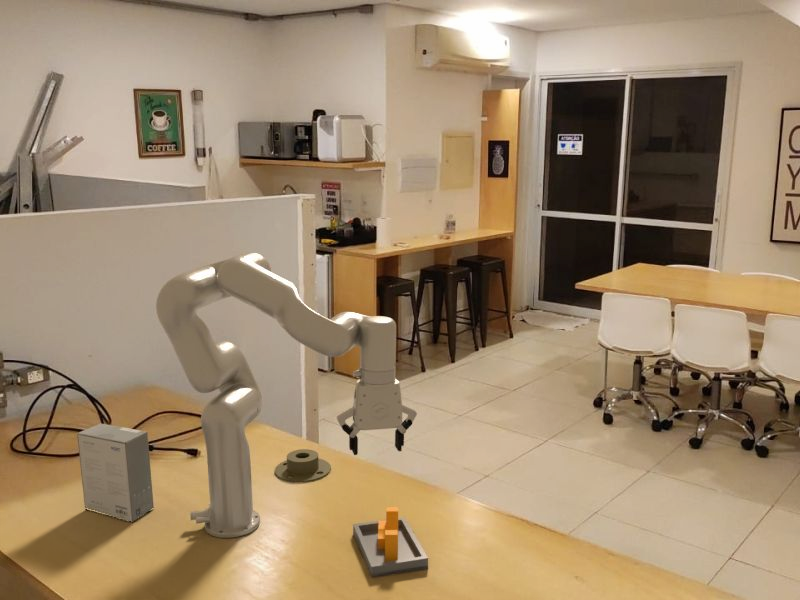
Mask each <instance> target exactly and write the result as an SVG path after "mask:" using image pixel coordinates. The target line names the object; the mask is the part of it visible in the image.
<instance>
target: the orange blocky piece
mask: <svg viewBox="0 0 800 600" xmlns="http://www.w3.org/2000/svg"><path fill="white" fill-rule="evenodd" d="M385 508H386V509H385V510H386V517H385V518H386V519H385V520H386V521H380V520H378V521H379V525H378V549H385V562H388V561H395V560H398V518H399V506H388V507H387V506H386V507H385Z"/></svg>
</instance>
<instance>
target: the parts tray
mask: <svg viewBox="0 0 800 600" xmlns="http://www.w3.org/2000/svg"><path fill="white" fill-rule="evenodd" d="M379 521H386V519H382V520H381V519H379V520H373V521H368V522H367V521H366V522H361V523H360V522H359V523H354V524H352V527H353V528H352V533H353V537H354V540H355V542H356V544H357V546H358V549H359V552H360V553H361V557H362V558H363V561H364V563H365V565H366V568H367V570H368V572H369V575H370V577H371V579H374V578H380V577H389V576H393V575H398V574H406V573H412V572H418V571H425V570H428V569H429V557H428V555H427V554H426V552H425V550H424V549H423V547H422V545H421V543H420V542H419V540H418V538H417V537H416V535H415V533H414V531H413V529H412V528H411V526H410V524H409V522H408V521H407V519H406V518H405V516H403V517H398V560H395V561H388V562H385V549H378V525H379Z"/></svg>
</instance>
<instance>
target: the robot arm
mask: <svg viewBox="0 0 800 600" xmlns="http://www.w3.org/2000/svg"><path fill="white" fill-rule="evenodd" d="M271 269H272V267H271V266H270V263H269V261H268V260H267V259H266V258H265V257H264V255H263V256H262V255H261V254H259V253H257V252H252V251H251V252H248V251H247V252H243V253H240V254H238V255H235V256H232V257H230V258H227V259H224V260H220V261H217V262H214V263H210V264H206V265H203V266H201V267H198V268H195V269H191V270H188V271H185V272H182V273H180V274H177V275H175V276H174V277H172V278H170V279H168V280H167V282H166V283H165V284H164V285H163V286H162V287H161V289H160V291H159V292H158V295H157V298H156V307H155V309H156V314H157V319H158V321H159V322H160V325H161V326H162V329H163V331H164V332H165V334H166V335H167V338H168V339H169V341H170V343H171V345H172V347H173V350H174V352H175V354H176V357H177V358H178V361H179V363H180V365H181V367H182V369H183V372H184V374H185V376H186V379H187V380H188V383H189V384H190V386H191V387H192V388H193V390H195V391H196V392H198V393H201V394H208V393H212V392H214V391H216V390H219V392H220V393H219V394H217V395H216V396H214V397H213V398H212V399H211V400H210V401H208V402H207V404H206V405H205V406H204V408H203V410H202V412H201V414H200V425H201V426H200V427H201V429H202V432H203V433H202V434H203V437H204V443H205V447H206V450H205V451H206V460H207V462H206V463H207V475H208V491H209V504H208V508H204V510H195V511H194V510H193V511H190V514H189V515H190V521H195V523H196V524H202V523H203V524H204V530H205V531H206V533H207V534H209V535H210V536H213V537H217V538H221V539H222V538H223V539H225V538H226V539H227V538H229V539H230V538H238V537H241V536H245V535H248V534H250V533H252V532H254V531H255V530H256V529H257V528H258V527H259V526H260V524H261V516H260V514H259V512H257V511H256V510H254V509H253V508H254V507H253V503H254V502H253V487H252V486H253V484H252V465H251V451H250V450H251V449H250V444H249V440H248V439H247V435H246V431H245V430H246V427H247V426H248V425H250V424H251V422H253V421H254V420H255V419H256V418H257V417H258V416H259V414H260V413H261V411H262V409H263V404H264V402H263V401H264V399H263V395H262V391H261V390H260V387H259V385H258V382H257V380H256V379H255V376H254V374H253V372H252V370H251V368H250V365H249V363H248V360H247V359H246V357H245V355H244V353H243V352H242V350H241V349H240V348H239V347H238V346H237V345H236V344H235V343H232V342H230V341H227V340H219V341H214V339H213V337H212V335H211V334H212V333H211V331H210V329H209V328H208V325H206V323H205V322H204V321H203V319H202V318H201V317H199V315H198V314H197V312H198V310H199V309H201V308H204V307H207V306H208V305H211V304H213V303H215V302H218V301H221V300H224V299H227V298H230V297H233V298H234V299H237V300H239V301H240V302H243V303H245V304H247V305H248V306H250V307H252V308H254V309H256V310H258V311H260V312H261V313H264V314H265V315H267V316H269V317H270V318H272V319H274V320H276V322H278V325H279V326H280V327H282V329H283V330H284V331H285V333H287V334H288V335H289V336H290V337H291V338H292V339H294V340H295V341H296V342H298V343H299V344H301V345H303V346H306V347H307V348H309V349H311V350H312V351H314V352H316V353H319V354H320V355H324V356H325V357H326V356H327V357H331V358H338V357H342V356H344V355H345V354H347V353H348V352H349V351H351V349H353V348H356V347H359V366H358V369H357V370H353V371H352V376H353V378H357V380H356V383H355V389H354V394H353V395H354V396H353V404H352V407H350V408H349V409H347V410H345V411H343V412H342V413H340V414H337V416H336V420H337V422H338V424H339V426H340V428H341V429H342V430H343V432H344V433H346V434H347V435H348V436H349V437H348V439H349V440H348V443H349V444H348V445H349V450H350V451H352V453H353V456H358V455H359V453H358V451H359V446H358V444H359V437H358V436H357V435H358V434H359V432H360V431H375V430H386V429H387V430H388V429H395V433H394V447H395V449H396V450H397V452H402V450H403V449H402V447H403V446H404V445H405V434H406V433H407V430H409V428H410V427H411V426H412V425H413V422H414V420H415V419H416V417H417V415H418V413H417V411H416V410H415V409H413V408H410V407H408V406H405V405H403V404H402V391H401V385H400V384H401V383H400V381H399V380H398V379H397V378H396V369H397V368H396V365H397V364H396V361H397V360H396V359H397V355H396V354H397V323H396V321H395V320H394V319H393V318H391V317H388V316H384V315H383V316H382V315H374V316H373V315H371V316H369V315H365V314H361V313H358V312H357V313H356V312H353V311H342V312H339V313H337V314H336V315H334V316H332V317H331V318H330V319H329V318H328V317H325V316H323V315H322V314H320V313H318V312H316V311H315V310H313V309H311V308H310V307H308V306H307V305H306V304H305V303H304V302H303V300H302V299H301V297H300V295H299V291H298V288H297V286H296V285H297V284H295V283H294V282H292V281H290V280H288V279H286V278H284V277H281V276H279V275H278V274H275V273H274V272H272V270H271ZM403 414H406V415H407V417H406V418H405V419H404V420H403ZM349 418H352V420H353V422H352V423H351V425H348V424H347V423H346V420H348V419H349Z"/></svg>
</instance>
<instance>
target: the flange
mask: <svg viewBox="0 0 800 600" xmlns="http://www.w3.org/2000/svg"><path fill="white" fill-rule="evenodd" d="M286 464H287V465H286ZM331 466H332V465H331V464H330V462H328V461H327V460H325V459H324V458H319V453H318V452H317V451H316V450H314V449H309V448H308V449H307V448H305V449H304V448H303V449H302V448H301V449H296V450H292V451H290V452H289V453H287V455H286V459H285V460H284V461H281V462H280V463H279V464H277V465H276V466H275V467H274V474H275V476H276V477H277V478H278V479H280V480H281V481H285V482H289V483H295V482H303V483H311V482H315V480H316V481H318V480H321V479H323V477H324V478H325V477H326V476H328V475H329V474H330V473H331V471H332V467H331Z"/></svg>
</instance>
